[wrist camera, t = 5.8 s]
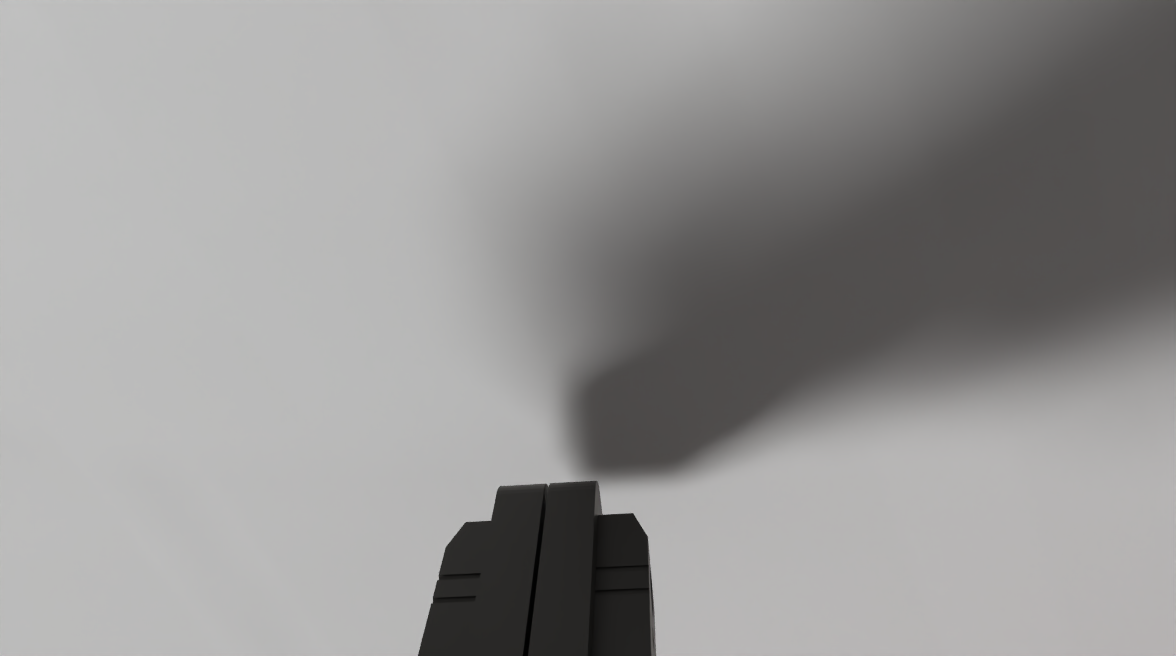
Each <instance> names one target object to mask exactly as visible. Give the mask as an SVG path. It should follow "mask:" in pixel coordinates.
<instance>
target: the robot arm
mask: <svg viewBox="0 0 1176 656" xmlns="http://www.w3.org/2000/svg"><path fill="white" fill-rule="evenodd" d="M418 656H656V645H655V616H654V601H653V590H652V579H651V568H650V557H649V545H648V537H647V535H646V533H645V532H644V530H643V529H642V527H641V525H640V524H639V522H638V521H637V519H636V517H635V516H634V514H633V513H630V514H611V515H602V508H601V499H600V491H599V485H598V481H584V482H566V483H550V485H549V487H548V485H547V484H533V485H515V486H500V487H499V488H498V491H497V495H496V499H495V504H494V509H493V514H492V519H491V521H480V522H466V523H465V524H464V525H463V526H462V528H461V529H460V530H459V531H458V533H457V534H456V535H455V536H454V538H453V539H452V540H451V541H450V543H449V544H448V545H447V546H446V549H445V553H444V557H443V561H442V564H441V568H440V572H439V580H437V584H436V588H435V592H434V595H433V604H431V607H430V611H429V615H428V619H427V623H426V627H425V630H424V634H423V638H422V642H421V646H420V650H419V654H418Z"/></svg>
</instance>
